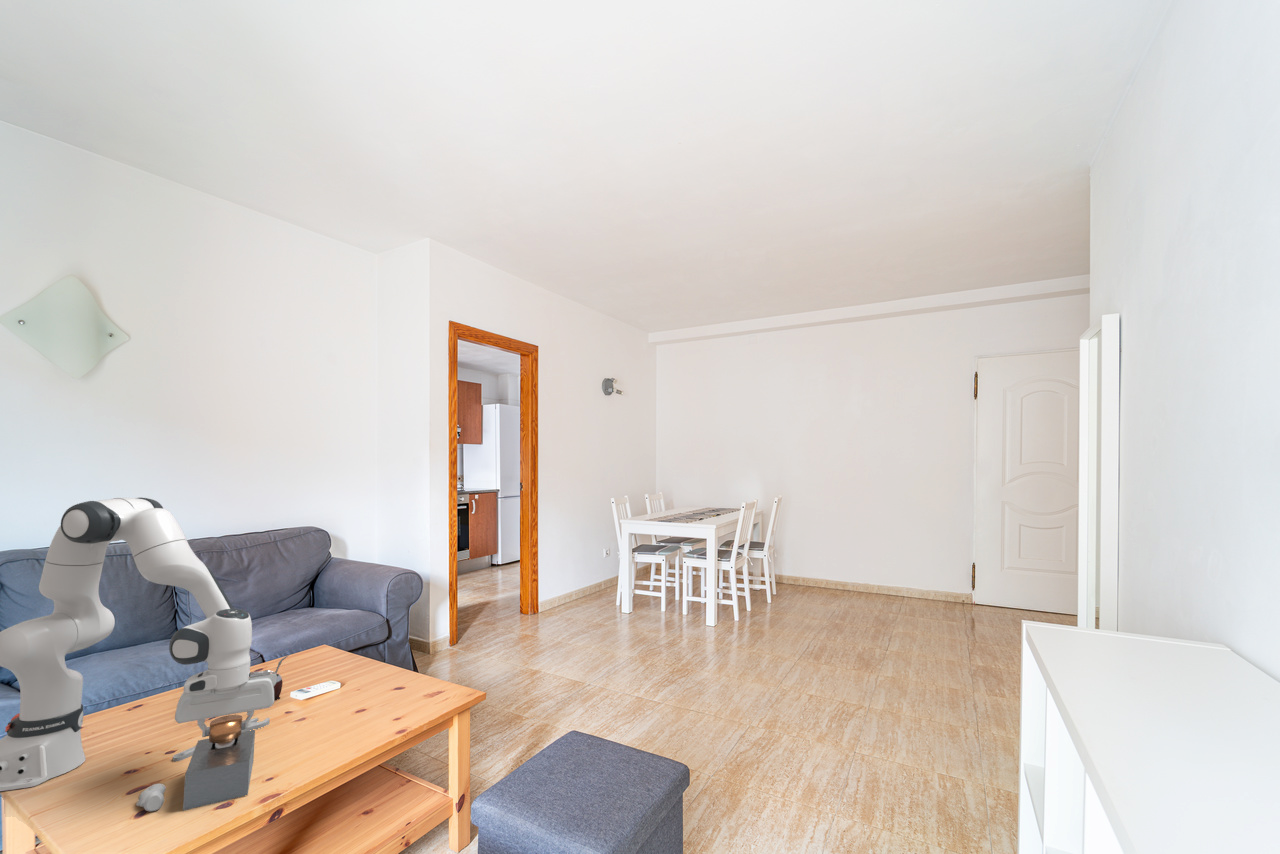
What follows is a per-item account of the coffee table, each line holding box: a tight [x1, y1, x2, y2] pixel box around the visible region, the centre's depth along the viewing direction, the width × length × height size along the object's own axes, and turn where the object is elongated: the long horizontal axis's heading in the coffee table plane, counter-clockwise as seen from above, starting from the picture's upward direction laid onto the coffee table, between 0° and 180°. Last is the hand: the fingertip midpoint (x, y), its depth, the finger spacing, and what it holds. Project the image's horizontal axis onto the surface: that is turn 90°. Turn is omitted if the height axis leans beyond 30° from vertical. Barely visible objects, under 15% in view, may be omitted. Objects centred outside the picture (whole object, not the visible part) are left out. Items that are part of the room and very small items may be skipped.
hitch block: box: [182, 730, 256, 812], centre depth 138 cm, size 12×18×8 cm, turn 31°
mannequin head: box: [135, 783, 167, 812], centre depth 129 cm, size 4×8×5 cm
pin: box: [208, 714, 243, 749], centre depth 142 cm, size 7×7×11 cm
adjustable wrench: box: [172, 717, 270, 762], centre depth 160 cm, size 25×6×2 cm, turn 155°
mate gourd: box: [274, 654, 290, 701], centre depth 187 cm, size 8×8×15 cm
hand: (225, 732), depth 142 cm, fingers closed on pin, 6 cm apart
